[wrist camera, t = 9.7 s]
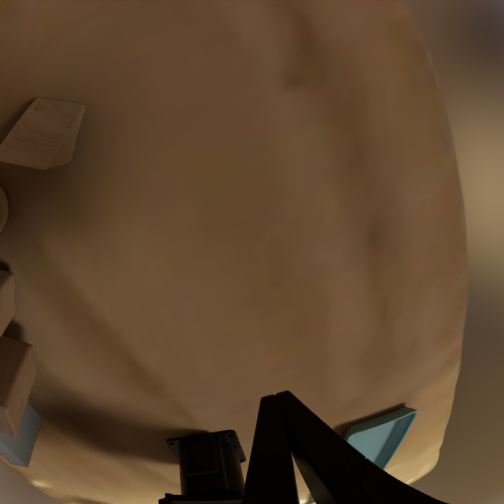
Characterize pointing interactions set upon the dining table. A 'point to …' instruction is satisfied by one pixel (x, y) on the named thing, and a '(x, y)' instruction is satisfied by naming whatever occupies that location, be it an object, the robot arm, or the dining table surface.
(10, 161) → the wooden block set
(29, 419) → the board
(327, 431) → the robot arm
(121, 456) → the dining table surface
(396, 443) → the shallow long dish
